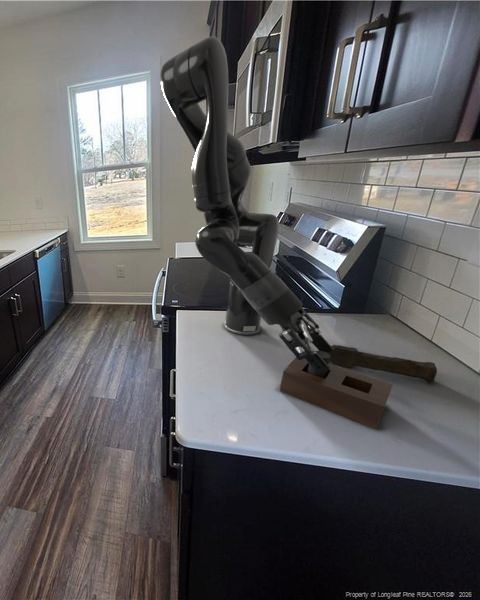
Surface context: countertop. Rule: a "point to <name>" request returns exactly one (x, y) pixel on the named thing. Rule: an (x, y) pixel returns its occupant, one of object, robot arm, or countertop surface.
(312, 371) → the dark grey cylinder
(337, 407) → the holder
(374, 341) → the countertop surface
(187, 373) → the countertop surface
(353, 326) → the countertop surface
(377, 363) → the hand tool
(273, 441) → the countertop surface
